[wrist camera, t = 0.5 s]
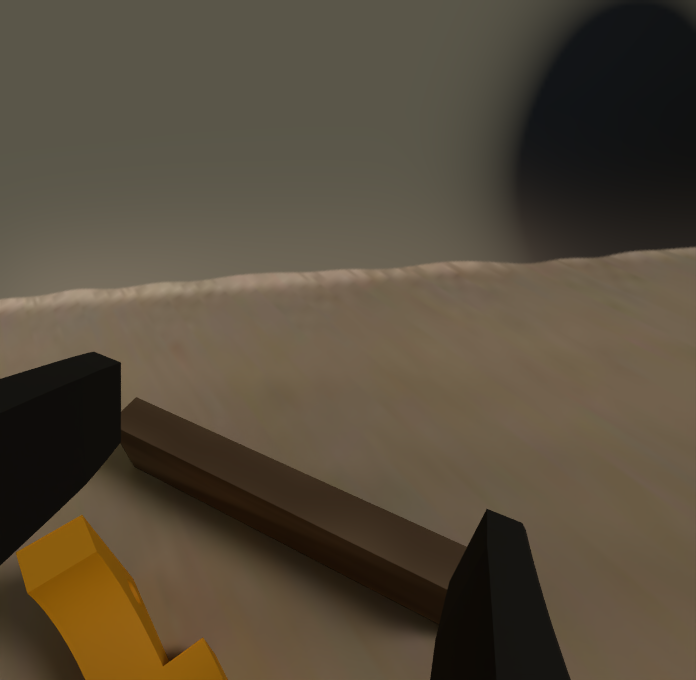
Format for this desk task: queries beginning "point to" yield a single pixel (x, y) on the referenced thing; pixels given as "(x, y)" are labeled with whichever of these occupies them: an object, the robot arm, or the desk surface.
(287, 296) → the desk surface
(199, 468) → the rail
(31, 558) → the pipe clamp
